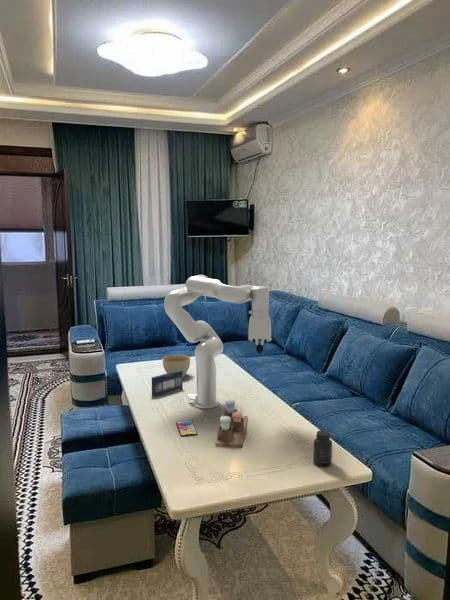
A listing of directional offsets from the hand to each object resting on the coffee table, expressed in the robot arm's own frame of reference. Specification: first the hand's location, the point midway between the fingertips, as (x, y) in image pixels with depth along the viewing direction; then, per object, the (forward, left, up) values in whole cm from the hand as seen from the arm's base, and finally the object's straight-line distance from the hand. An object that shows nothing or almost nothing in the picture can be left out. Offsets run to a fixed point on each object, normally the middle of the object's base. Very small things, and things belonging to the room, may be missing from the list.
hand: (259, 352), depth 220 cm
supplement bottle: (+26, -44, -29) cm, 59 cm away
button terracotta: (-8, -21, -27) cm, 35 cm away
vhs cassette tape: (-49, +22, -29) cm, 61 cm away
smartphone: (-30, -21, -30) cm, 47 cm away
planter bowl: (-50, +48, -29) cm, 75 cm away
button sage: (-12, -30, -26) cm, 41 cm away
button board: (-10, -21, -29) cm, 37 cm away
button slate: (-12, -12, -26) cm, 31 cm away
